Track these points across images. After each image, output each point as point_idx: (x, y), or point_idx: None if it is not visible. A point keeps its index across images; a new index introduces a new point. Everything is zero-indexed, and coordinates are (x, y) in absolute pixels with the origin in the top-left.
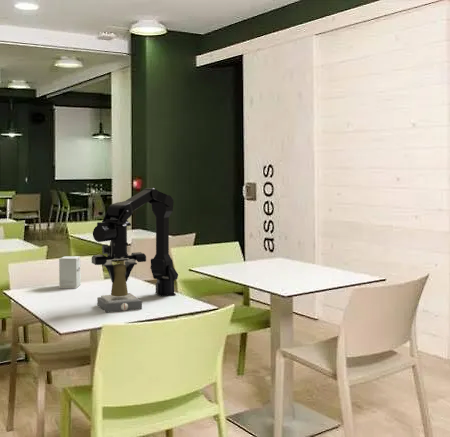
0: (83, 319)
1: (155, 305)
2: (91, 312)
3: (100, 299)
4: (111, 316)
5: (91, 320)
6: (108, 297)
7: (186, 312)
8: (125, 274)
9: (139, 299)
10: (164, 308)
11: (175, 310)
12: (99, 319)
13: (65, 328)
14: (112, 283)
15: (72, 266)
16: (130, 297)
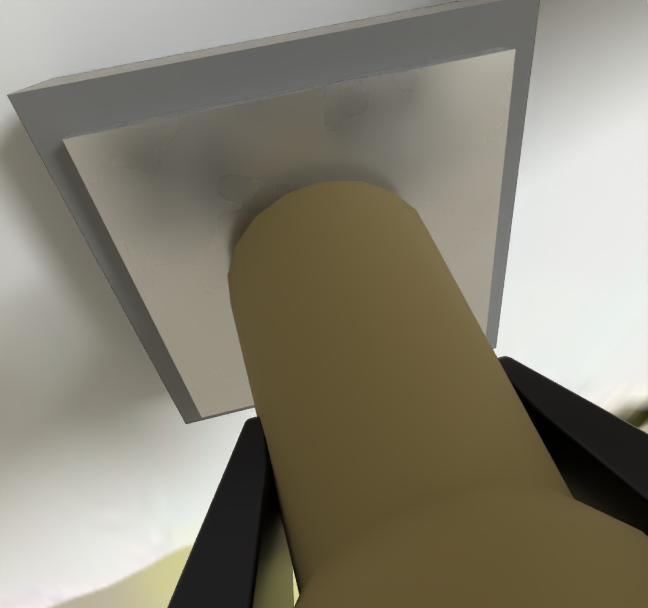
0: (52, 492)
1: (607, 207)
2: (61, 352)
3: (91, 236)
4: (231, 446)
5: (112, 505)
6: (196, 276)
7: (639, 398)
8: (575, 484)
9: (499, 300)
10: (603, 306)
11: (623, 358)
12: (159, 491)
13: (2, 597)
14: (255, 401)
15: None
16: None
